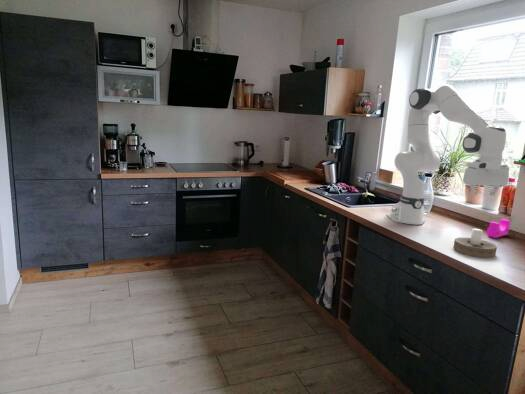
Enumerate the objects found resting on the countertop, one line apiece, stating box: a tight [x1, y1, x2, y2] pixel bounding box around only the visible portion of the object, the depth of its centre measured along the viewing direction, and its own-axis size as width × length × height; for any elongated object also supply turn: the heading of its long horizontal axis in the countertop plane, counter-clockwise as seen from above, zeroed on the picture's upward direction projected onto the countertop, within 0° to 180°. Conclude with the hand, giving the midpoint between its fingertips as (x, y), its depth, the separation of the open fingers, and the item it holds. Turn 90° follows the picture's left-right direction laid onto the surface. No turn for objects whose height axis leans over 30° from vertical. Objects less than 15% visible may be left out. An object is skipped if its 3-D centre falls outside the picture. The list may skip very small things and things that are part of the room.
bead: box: [453, 236, 498, 259], centre depth 174 cm, size 16×16×4 cm
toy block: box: [486, 218, 511, 239], centre depth 206 cm, size 15×6×8 cm, turn 126°
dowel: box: [470, 228, 483, 245], centre depth 173 cm, size 4×4×10 cm
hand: (483, 195), depth 173 cm, fingers open, 8 cm apart
